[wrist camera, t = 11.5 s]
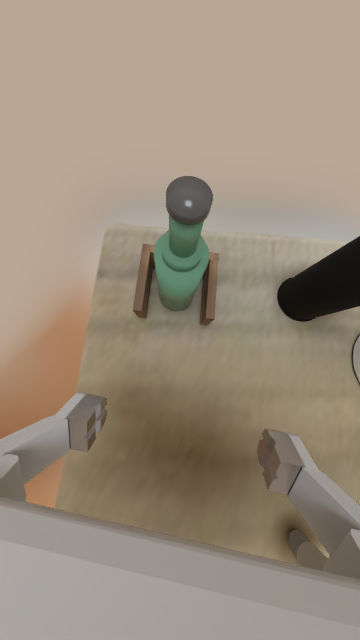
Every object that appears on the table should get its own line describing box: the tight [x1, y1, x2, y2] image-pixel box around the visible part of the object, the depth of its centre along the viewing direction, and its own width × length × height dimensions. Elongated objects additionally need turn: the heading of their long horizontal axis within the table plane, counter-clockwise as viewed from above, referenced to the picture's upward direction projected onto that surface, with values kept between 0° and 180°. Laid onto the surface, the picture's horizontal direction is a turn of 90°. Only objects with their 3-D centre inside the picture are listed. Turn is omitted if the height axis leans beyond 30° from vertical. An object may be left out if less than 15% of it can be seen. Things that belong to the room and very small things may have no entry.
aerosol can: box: [278, 236, 360, 321], centre depth 23 cm, size 8×8×20 cm
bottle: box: [154, 176, 213, 311], centre depth 21 cm, size 6×6×20 cm
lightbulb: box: [288, 530, 328, 571], centre depth 20 cm, size 6×6×11 cm
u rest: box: [133, 244, 218, 325], centre depth 29 cm, size 11×10×5 cm
